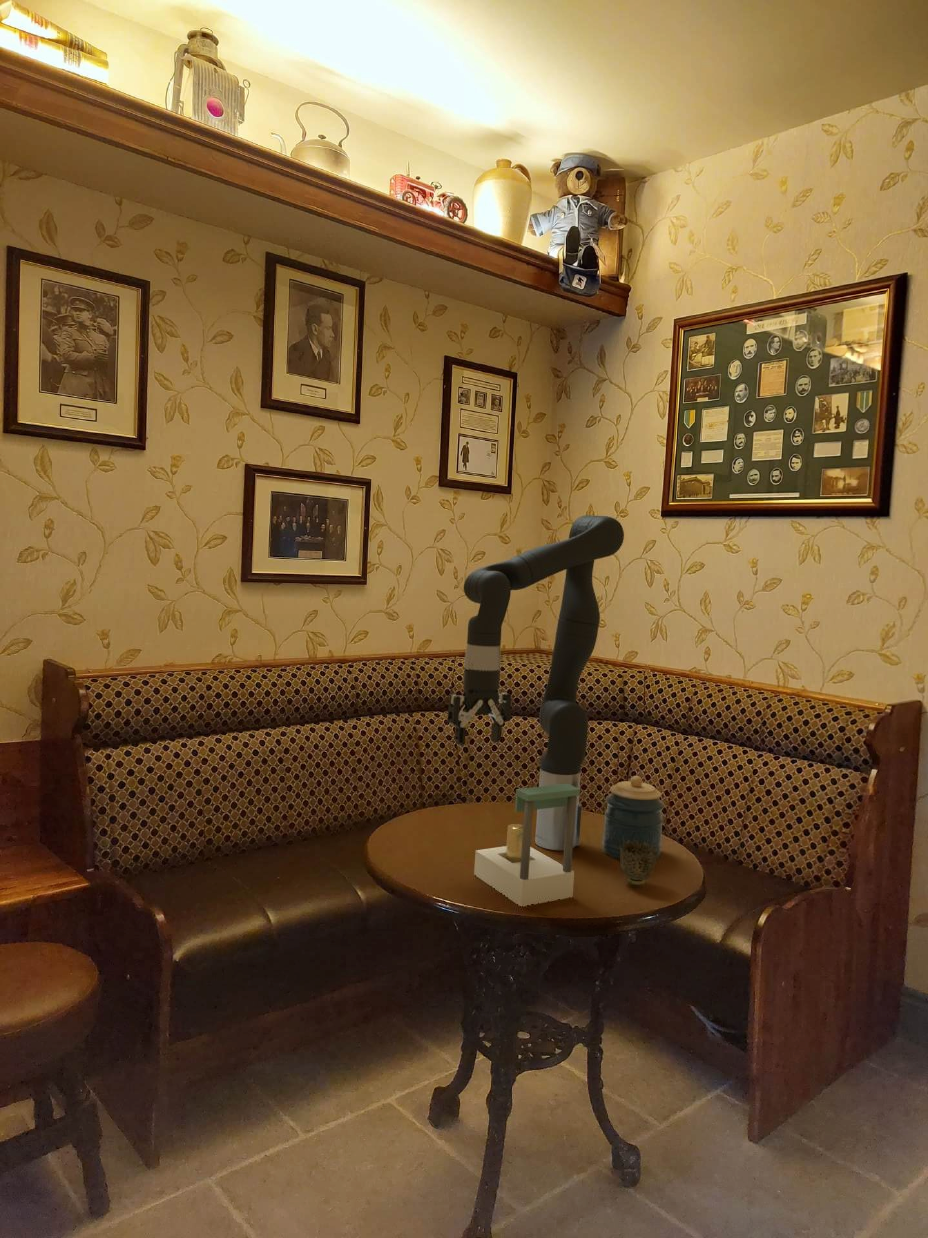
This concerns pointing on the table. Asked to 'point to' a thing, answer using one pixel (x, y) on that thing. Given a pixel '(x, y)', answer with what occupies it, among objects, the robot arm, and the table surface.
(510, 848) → the brass peg
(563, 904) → the table surface
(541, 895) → the socket stand
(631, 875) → the cup
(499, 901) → the table surface
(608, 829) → the canister
